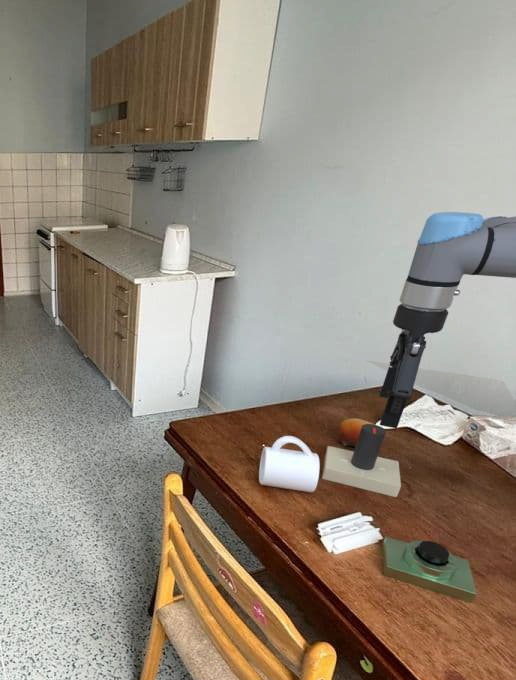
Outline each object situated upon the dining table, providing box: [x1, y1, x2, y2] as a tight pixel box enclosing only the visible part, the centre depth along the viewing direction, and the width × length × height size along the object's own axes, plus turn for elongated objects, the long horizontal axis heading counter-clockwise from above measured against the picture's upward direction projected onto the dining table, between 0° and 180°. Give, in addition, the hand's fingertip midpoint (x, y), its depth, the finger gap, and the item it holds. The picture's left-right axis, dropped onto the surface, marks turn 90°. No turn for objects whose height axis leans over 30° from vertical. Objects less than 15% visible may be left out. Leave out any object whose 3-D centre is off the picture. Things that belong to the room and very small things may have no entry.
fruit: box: [338, 417, 374, 448], centre depth 114 cm, size 8×8×8 cm
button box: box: [381, 536, 478, 604], centre depth 79 cm, size 12×8×4 cm, turn 61°
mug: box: [258, 435, 321, 493], centre depth 100 cm, size 8×10×12 cm
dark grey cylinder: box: [351, 423, 387, 470], centre depth 101 cm, size 4×4×9 cm
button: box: [417, 540, 450, 566], centre depth 78 cm, size 4×4×2 cm
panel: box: [321, 445, 402, 498], centre depth 104 cm, size 14×10×3 cm
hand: (387, 410), depth 94 cm, fingers open, 13 cm apart
